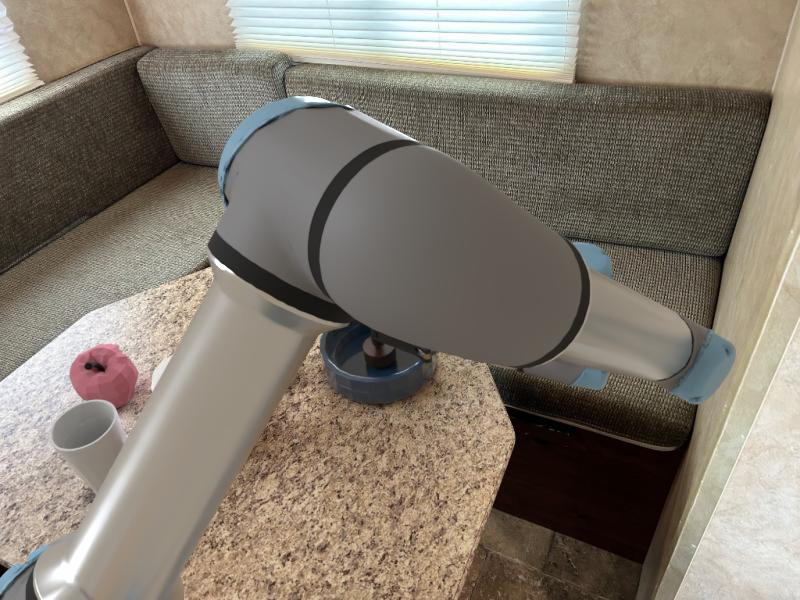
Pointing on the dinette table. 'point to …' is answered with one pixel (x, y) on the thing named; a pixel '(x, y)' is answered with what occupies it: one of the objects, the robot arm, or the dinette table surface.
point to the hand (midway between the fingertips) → (340, 301)
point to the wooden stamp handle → (378, 353)
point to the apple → (104, 375)
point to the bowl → (369, 368)
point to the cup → (89, 439)
